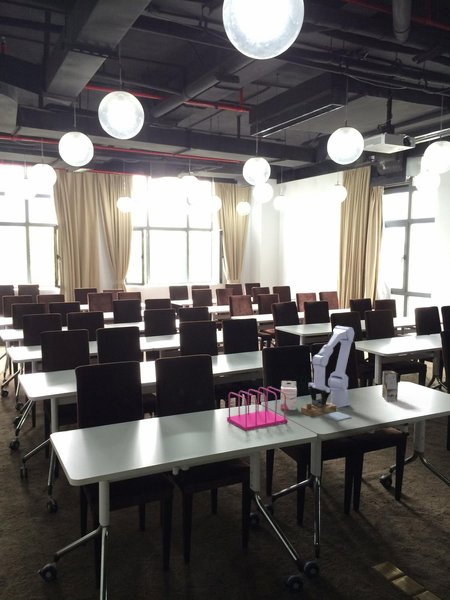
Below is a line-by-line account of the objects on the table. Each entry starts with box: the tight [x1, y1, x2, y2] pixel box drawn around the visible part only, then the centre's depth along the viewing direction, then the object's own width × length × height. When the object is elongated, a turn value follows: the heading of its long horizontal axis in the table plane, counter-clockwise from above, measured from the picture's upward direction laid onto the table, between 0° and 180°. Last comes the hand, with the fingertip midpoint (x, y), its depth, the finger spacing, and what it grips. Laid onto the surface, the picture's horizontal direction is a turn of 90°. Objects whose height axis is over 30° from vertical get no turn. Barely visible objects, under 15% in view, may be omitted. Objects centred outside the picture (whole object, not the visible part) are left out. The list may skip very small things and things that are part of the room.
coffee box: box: [381, 370, 399, 403], centre depth 290 cm, size 9×6×16 cm
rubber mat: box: [322, 411, 352, 422], centre depth 259 cm, size 10×10×1 cm
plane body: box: [300, 401, 337, 417], centre depth 267 cm, size 18×8×5 cm, turn 123°
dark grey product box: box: [311, 397, 326, 408], centre depth 267 cm, size 6×4×4 cm
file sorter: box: [226, 386, 288, 431], centre depth 250 cm, size 17×25×16 cm
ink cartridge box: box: [280, 380, 298, 411], centre depth 272 cm, size 9×5×15 cm, turn 84°
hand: (318, 402), depth 267 cm, fingers open, 7 cm apart
